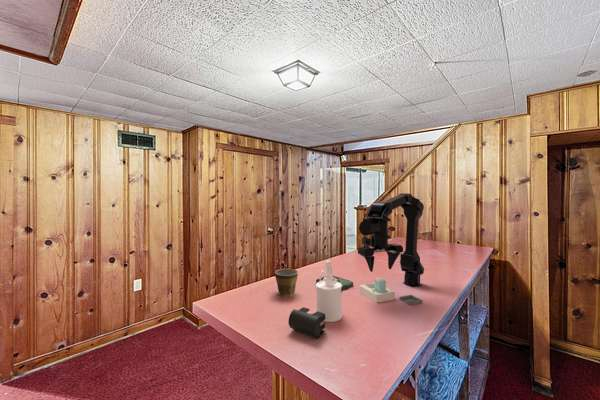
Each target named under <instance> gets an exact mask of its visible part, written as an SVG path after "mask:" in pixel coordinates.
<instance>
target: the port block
mask: <svg viewBox="0 0 600 400" xmlns="http://www.w3.org/2000/svg"><path fill="white" fill-rule="evenodd" d="M358 289H359V293H360V294H361V295H363V296H364V297H366V298H368V299H369V300H371V301H373V302H375V304H376V303H382V302H387V301H392V300H395V299H396V298H395V297H396V294H395V291H394V290H391V289H390V288H388V287H386V292H383V293H378V292H376V291H375V282H373V283H371V282H370V283H366V284H360V285H359V286H358Z"/></svg>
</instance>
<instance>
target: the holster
mask: <svg viewBox="0 0 600 400" xmlns="http://www.w3.org/2000/svg"><path fill="white" fill-rule="evenodd" d="M398 300H399V301H402V302H403V303H405V304H407V305H409V306H414V305H419V304H423V299H421V298H419V297H416V296H415V295H413V294H407V295H401V296H399V299H398Z"/></svg>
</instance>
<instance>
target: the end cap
mask: <svg viewBox="0 0 600 400" xmlns="http://www.w3.org/2000/svg"><path fill="white" fill-rule="evenodd" d="M308 312H310V308H307V307H304V306H303V307H301V308H299V309H295V308H293V310H291V311H290V313H289V316H288V327H289V328H290V329H292V330H294V331H295V332H299V333H302V334H304V335H307V336H310V337H312V338H315V339H319V338H320V337H322V336H323V335H324V334H325V333H326V331H325V330H324V329H326V322H324V320H325V314H324V313H322V312H318V311H317V310H316V311H315V312H314V313H308ZM322 322H323V324H322Z"/></svg>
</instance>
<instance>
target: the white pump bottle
mask: <svg viewBox="0 0 600 400" xmlns="http://www.w3.org/2000/svg"><path fill="white" fill-rule="evenodd" d="M324 272H325V273H324ZM323 273H324V274H325V275H324V276H323V277H324V279H325V281H323V280H324V279H323V280H322V281H321V278H322V275H323ZM325 276H326V277H325ZM332 276H333V263H332V260H326V262H325V269H322V270H321V272H320V274H319V278H318V279H320V282H318V283H316V282H315V287H316V312H317V311H318V312H322V313H324V314H325V320H324V321H323V323H326V322H327V323H335V322H338V321H340V320H341V319H343V314H342V291H341V288H342V284H341V283H339V282H337V278H334V277H332ZM333 279H334V281H333Z"/></svg>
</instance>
